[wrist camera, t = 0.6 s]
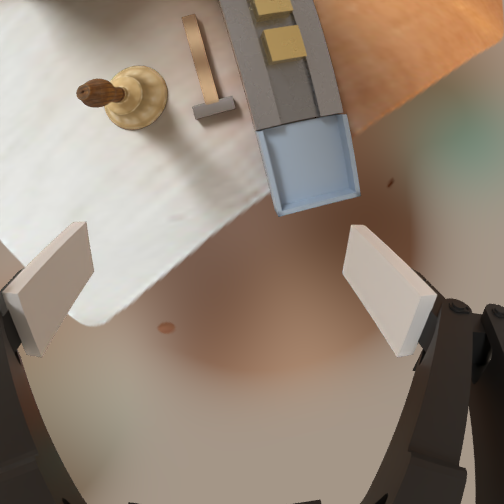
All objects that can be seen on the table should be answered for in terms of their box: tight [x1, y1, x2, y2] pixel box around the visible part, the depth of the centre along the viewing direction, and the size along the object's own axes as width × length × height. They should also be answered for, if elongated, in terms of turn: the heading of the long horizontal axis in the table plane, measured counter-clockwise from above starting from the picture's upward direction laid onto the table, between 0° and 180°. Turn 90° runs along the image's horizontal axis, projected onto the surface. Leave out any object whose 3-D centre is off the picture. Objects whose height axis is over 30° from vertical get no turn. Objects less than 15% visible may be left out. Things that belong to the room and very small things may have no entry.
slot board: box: [218, 0, 343, 130], centre depth 31 cm, size 22×11×2 cm, turn 14°
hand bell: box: [76, 66, 167, 130], centre depth 26 cm, size 8×8×16 cm
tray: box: [255, 114, 361, 217], centre depth 37 cm, size 11×11×3 cm
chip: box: [260, 25, 307, 65], centre depth 30 cm, size 4×4×3 cm
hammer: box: [182, 14, 235, 119], centre depth 32 cm, size 13×5×2 cm, turn 14°
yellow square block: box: [249, 0, 293, 22], centre depth 27 cm, size 4×4×3 cm
